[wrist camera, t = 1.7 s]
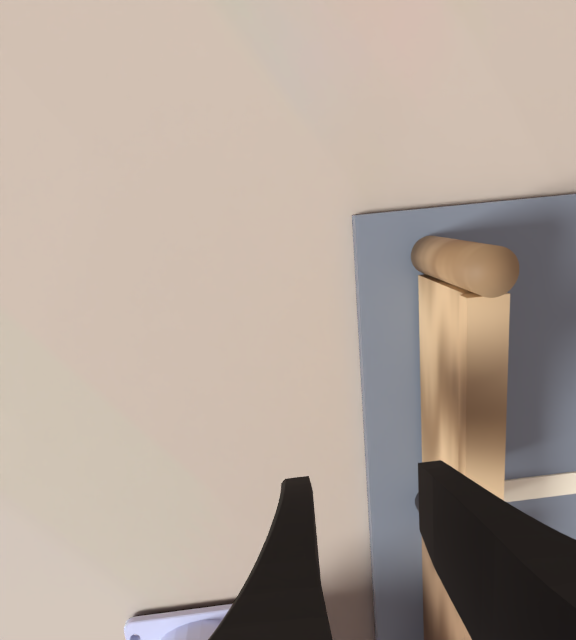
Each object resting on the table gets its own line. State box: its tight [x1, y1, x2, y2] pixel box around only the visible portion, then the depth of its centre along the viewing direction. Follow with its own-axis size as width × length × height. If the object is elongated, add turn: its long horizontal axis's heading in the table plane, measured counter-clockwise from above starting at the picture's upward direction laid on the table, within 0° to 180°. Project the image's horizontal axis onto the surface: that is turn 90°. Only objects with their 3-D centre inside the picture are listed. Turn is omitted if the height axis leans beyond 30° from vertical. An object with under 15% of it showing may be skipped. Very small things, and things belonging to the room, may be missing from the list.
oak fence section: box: [411, 236, 519, 500], centre depth 17 cm, size 12×2×5 cm, turn 5°
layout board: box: [352, 194, 576, 640], centre depth 23 cm, size 28×16×1 cm, turn 5°
